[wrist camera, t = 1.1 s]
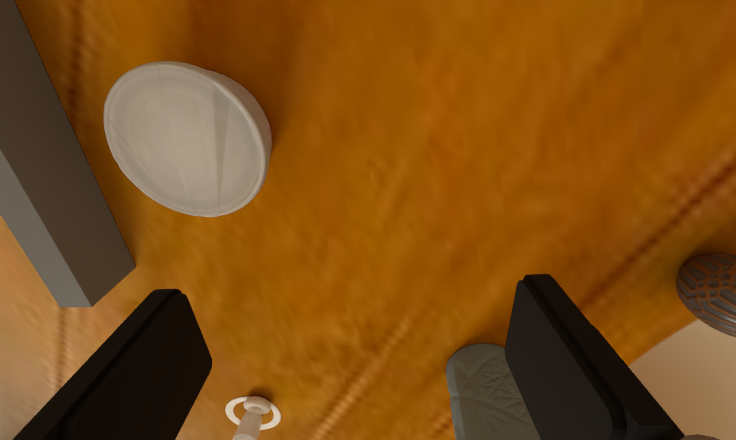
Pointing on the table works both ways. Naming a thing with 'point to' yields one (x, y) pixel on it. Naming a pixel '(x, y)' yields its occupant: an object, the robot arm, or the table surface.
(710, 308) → the vase
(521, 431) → the blue-grey plant pot
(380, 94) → the table surface
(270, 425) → the white ring with peg
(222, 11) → the table surface
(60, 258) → the board
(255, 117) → the ramekin
